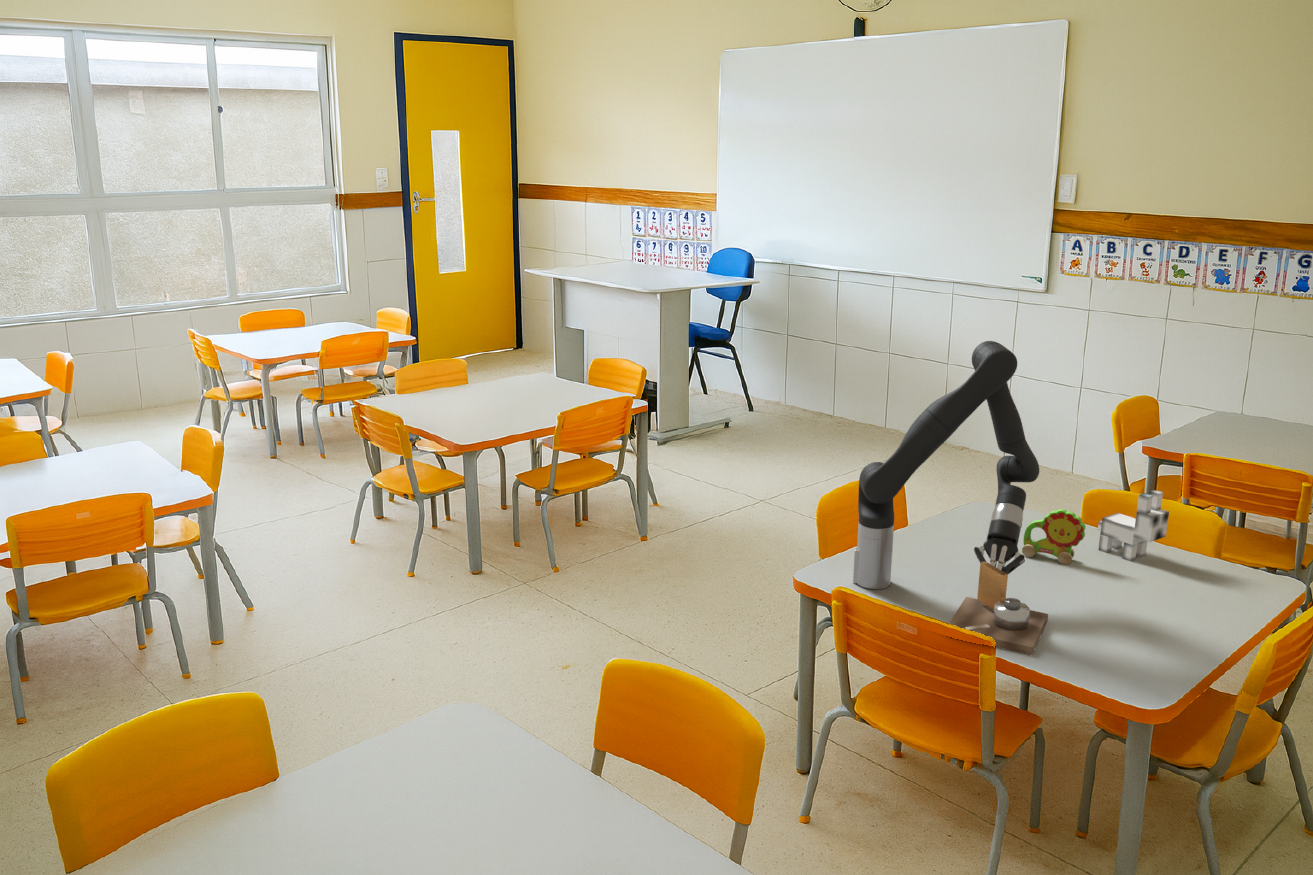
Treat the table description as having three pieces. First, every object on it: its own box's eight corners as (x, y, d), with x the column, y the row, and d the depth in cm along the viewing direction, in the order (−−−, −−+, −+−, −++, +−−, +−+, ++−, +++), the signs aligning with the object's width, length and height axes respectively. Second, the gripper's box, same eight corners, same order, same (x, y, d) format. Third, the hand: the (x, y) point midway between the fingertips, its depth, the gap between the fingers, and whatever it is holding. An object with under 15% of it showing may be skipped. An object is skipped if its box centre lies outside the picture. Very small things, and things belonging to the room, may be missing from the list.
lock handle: (1035, 626, 237) (1039, 584, 234) (1007, 632, 235) (1011, 589, 232) (992, 599, 252) (996, 559, 249) (966, 604, 249) (969, 564, 246)
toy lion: (1020, 556, 285) (1025, 506, 281) (1024, 550, 289) (1029, 501, 285) (1079, 567, 276) (1085, 516, 272) (1082, 561, 281) (1088, 511, 277)
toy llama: (1106, 542, 295) (1114, 478, 289) (1162, 561, 280) (1171, 494, 275) (1090, 547, 291) (1098, 482, 285) (1146, 567, 277) (1156, 499, 271)
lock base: (945, 635, 238) (945, 626, 238) (965, 603, 255) (966, 595, 254) (1032, 655, 228) (1033, 646, 228) (1047, 621, 245) (1048, 612, 244)
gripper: (977, 514, 255) (963, 575, 248) (1031, 522, 248) (1018, 585, 241) (980, 526, 260) (967, 587, 254) (1033, 535, 254) (1021, 597, 247)
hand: (992, 586), depth 248 cm, fingers closed
